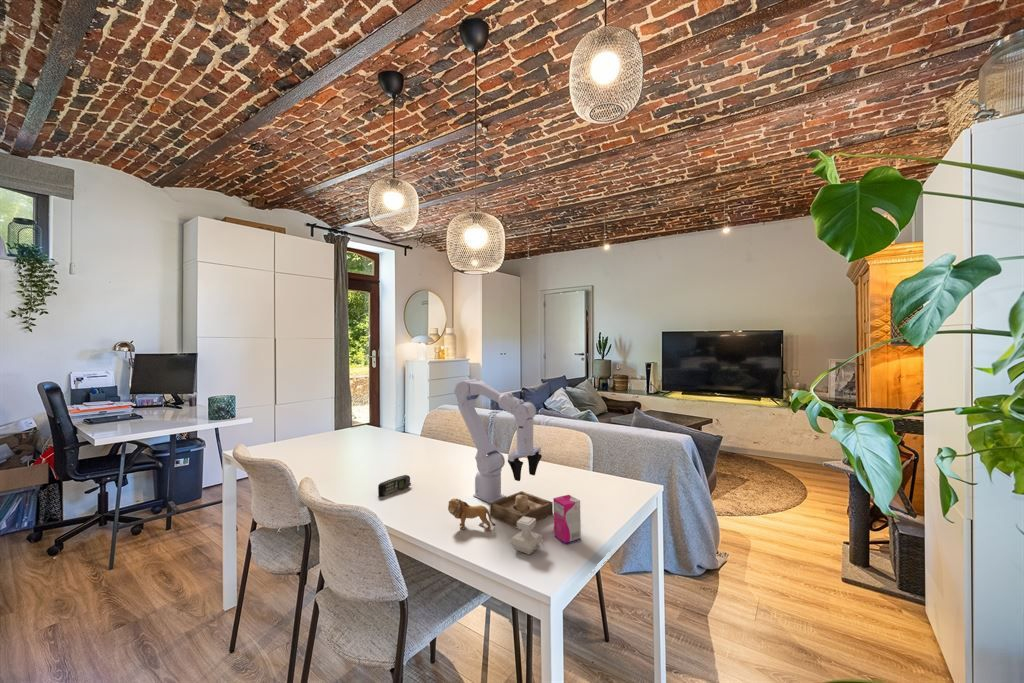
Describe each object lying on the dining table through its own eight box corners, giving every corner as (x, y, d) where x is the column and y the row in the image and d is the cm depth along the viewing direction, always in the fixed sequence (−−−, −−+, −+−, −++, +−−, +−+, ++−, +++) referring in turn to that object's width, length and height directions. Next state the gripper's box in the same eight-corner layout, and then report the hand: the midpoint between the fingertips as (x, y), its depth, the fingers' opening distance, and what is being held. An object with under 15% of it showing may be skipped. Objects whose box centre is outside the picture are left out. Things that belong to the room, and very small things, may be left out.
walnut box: (490, 515, 134) (490, 503, 134) (521, 502, 145) (521, 491, 145) (521, 529, 124) (521, 516, 124) (552, 514, 135) (552, 502, 135)
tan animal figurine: (447, 532, 123) (447, 502, 122) (448, 524, 128) (448, 495, 128) (496, 530, 124) (496, 501, 123) (495, 522, 129) (495, 494, 129)
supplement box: (569, 531, 123) (569, 493, 123) (581, 540, 118) (581, 500, 118) (552, 536, 120) (553, 497, 120) (564, 545, 115) (564, 504, 115)
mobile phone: (381, 485, 149) (413, 473, 161) (376, 483, 151) (408, 471, 163) (381, 498, 149) (414, 485, 161) (376, 496, 151) (409, 483, 163)
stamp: (546, 549, 113) (546, 518, 113) (535, 560, 107) (535, 528, 107) (518, 540, 118) (518, 511, 118) (506, 551, 112) (506, 520, 112)
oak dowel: (513, 515, 134) (513, 497, 134) (521, 511, 137) (521, 493, 137) (521, 519, 131) (521, 500, 131) (530, 515, 134) (530, 497, 134)
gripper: (518, 444, 133) (518, 485, 133) (547, 436, 144) (547, 475, 144) (503, 440, 138) (503, 480, 138) (532, 433, 148) (532, 470, 149)
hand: (524, 477), depth 141 cm, fingers open, 7 cm apart
